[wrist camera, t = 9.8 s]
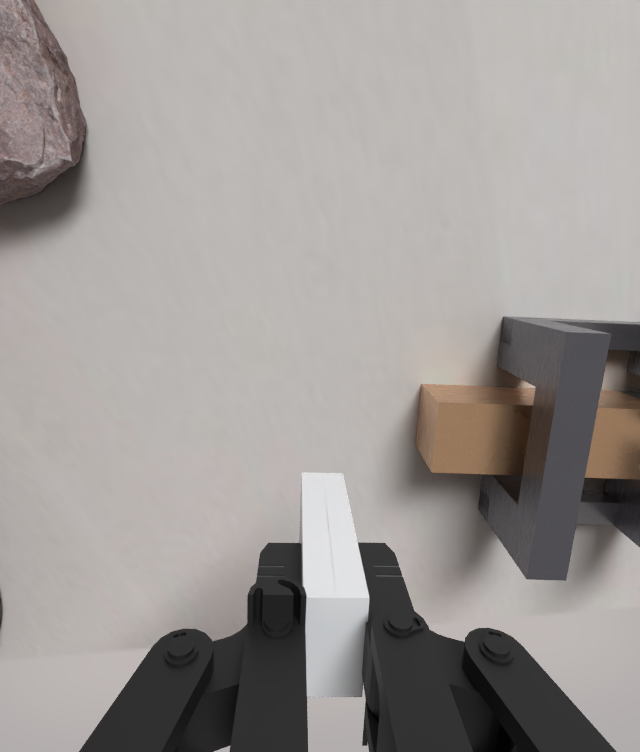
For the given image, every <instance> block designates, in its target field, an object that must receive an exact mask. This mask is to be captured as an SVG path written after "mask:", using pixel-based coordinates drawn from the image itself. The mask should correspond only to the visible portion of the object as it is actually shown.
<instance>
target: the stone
mask: <svg viewBox="0 0 640 752" xmlns="http://www.w3.org/2000/svg"><path fill="white" fill-rule="evenodd" d="M85 128H86V120H85V117H84V115H83V113H82V111H81V108H80V102H79V97H78V92H77V87H76V82H75V78H74V76H73V74H72V72H71V71H70V69H69V66H68V62H67V57H66V55H65V54H64V52H63V51H62V49H61V48H60V46H59V44H58V41H57V39H56V38H55V37H54V35H53V33H52V32H51V30H50V29H49V27H48V25H47V24H46V22H45V21H44V18H43V16H42V14H41V12H40V10H39V8H38V6H37V4H36V3H35V1H34V0H0V205H2V204H4V203H7V202H10V201H14V200H17V199H22V198H26V197H30V196H33V195H34V194H35V193H38V192H42V191H43V189H44V187H45V186H46V185H47V184H49V183H50V182H52V181H53V180H54V179H55V178H56V177H57V176H58V175H59V174H61V173H63V172H65V171H66V170H67V169H68V168H69V167H73V166H75V165H76V164H77V163H78V162H79V160H80V156H81V152H82V143H83V141H84V139H85Z"/></svg>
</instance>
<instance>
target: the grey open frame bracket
mask: <svg viewBox="0 0 640 752" xmlns="http://www.w3.org/2000/svg"><path fill="white" fill-rule="evenodd" d="M608 350H627V351H631V354H630V359H629V364H628V370H627V372H630V373H633V374H637V375H640V322H619V321H595V320H571V319H547V318H523V317H503V325H502V332H501V340H500V347H499V355H498V363H497V367H499V368H501V369H503V370H505V371H507V372H509V373H511V374H513V375H515V376H516V377H518V378H520V379H522V380H524V381H526V382H528V383H530V384H532V385H534V386H536V388H535V395H534V401H533V408H532V414H531V421H530V428H529V434H528V441H527V448H526V454H525V461H524V467H523V474H522V476H521V475H491V474H483V478H482V485H481V493H480V501H479V508H478V509H479V511H480V512H481V514H482V515H483V516H484V518H485V519H486V521H487V522H488V524H489V525H490V527H491V528H492V530H493V531H494V532H495V534H496V535H497V537H498V538H499V540H500V541H501V543H502V544H503V546H504V547H505V548H506V550H507V551H508V553H509V554H510V556H511V557H512V559H513V560H514V561H515V563H516V564H517V566H518V567H519V569H520V570H521V572H522V573H523V575H524V576H525V577H526V579H537V580H566V577H567V572H568V566H569V561H570V556H571V550H572V545H573V539H574V534H575V528H576V524H588V525H614V526H615V527H617V528H618V529H619V530H620V531H621V532H622V533H624V534H625V535H626V536H627V537H628V538H629V539H631V540H632V541H633V542H634V543H635V544H637V545H638V546H639V547H640V479H611V478H606V482H605V487H604V492H589V491H582V490H583V485H584V480H585V474H586V469H587V463H588V458H589V452H590V447H591V441H592V436H593V431H594V425H595V420H596V414H597V409H598V403H599V398H600V393H601V387H602V382H603V376H604V371H605V365H606V360H607V355H608Z"/></svg>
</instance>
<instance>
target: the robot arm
mask: <svg viewBox="0 0 640 752" xmlns="http://www.w3.org/2000/svg"><path fill="white" fill-rule="evenodd" d="M0 621H1V600H0ZM363 683H364V690H365V696H366V704H365V717H364V730H363V745H367V743H368V746H369V752H616V751H615V750H614V749H613V748H612V746H611V745H610V744H609V743H608V742H607V741H606V739H605V738H604V737H603V736H602V735H601V734H600V733H599V732H598V730H597V729H596V728H595V727H594V726H593V725H592V724H591V723H590V721H589V720H588V719H587V718H586V717H585V716H584V715H583V714H582V712H581V711H580V710H579V709H578V708H577V707H576V706H575V705H574V704H573V703H572V701H571V700H570V699H569V698H568V697H567V696H566V695H565V693H564V692H563V691H562V690H561V689H560V688H559V687H558V686H557V684H556V683H555V682H554V681H553V680H552V679H551V678H550V677H549V675H548V674H547V673H546V672H545V671H544V670H543V669H542V668H541V667H540V665H539V664H538V663H537V662H536V661H535V660H534V659H533V658H532V657H531V655H530V654H529V653H528V652H527V651H526V650H525V648H524V647H523V646H522V645H521V644H519V642H517V641H516V640H515V639H514V638H513V637H511V636H509V635H507V634H505V633H504V632H501V631H498V630H494V629H491V628H478V629H475V630H473V631H471V632H469V634H468V635H467V637H466V638H465V642H463V641H458V640H455V639H451V638H447V637H444V636H441V635H438V634H436V633H434V632H433V631H431V630H429V627H428V625H427V624H426V622H425V621H424V619H423V618H422V617H421V616H420V615H418V614H417V613H416V612H414V609H413V606H412V603H411V600H410V597H409V594H408V591H407V588H406V585H405V582H404V579H403V577H402V573H401V570H400V567H399V564H398V561H397V558H396V556H395V553H394V552H393V551H392V550H391V549H390V548H389V547H388V546H387V545H386V544H385V543H358V542H357V537H356V533H355V528H354V523H353V519H352V514H351V509H350V505H349V500H348V495H347V491H346V486H345V481H344V477H343V473H305V472H302V478H301V506H300V534H299V543H268V544H267V545H266V547H265V548H264V549H263V550H262V552H261V553H260V558H259V567H258V573H257V580H256V583H255V584H254V585H253V586H252V587H251V589H250V591H249V593H248V620H247V625H246V626H245V627H244V628H243V629H242V630H241V631H239V632H237V633H236V634H234V635H232V636H230V637H227V638H224V639H220V640H217V641H213V642H212V640H211V639H210V638H209V637H208V635H207V634H206V633H204V632H201V631H199V630H196V629H181V630H177V631H173V632H171V633H169V634H167V635H165V636H164V637H162V638H160V640H159V641H158V642H157V643H156V644H155V645H154V646H153V647H152V648H151V650H150V651H149V652H148V654H147V655H146V657H145V658H144V660H143V661H142V663H141V664H140V665H139V667H138V668H137V670H136V671H135V673H134V674H133V676H132V677H131V678H130V680H129V681H128V683H127V684H126V685H125V687H124V688H123V690H122V691H121V693H120V694H119V695H118V697H117V698H116V700H115V701H114V703H113V704H112V705H111V707H110V708H109V710H108V711H107V713H106V714H105V715H104V717H103V718H102V720H101V721H100V723H99V724H98V725H97V727H96V728H95V730H94V731H93V733H92V734H91V736H90V737H89V738H88V740H87V741H86V743H85V744H84V746H83V747H82V748H81V750H80V751H79V752H213V751H216V750H219V749H221V748H224V747H227V746H230V745H231V747H230V752H308V728H307V697H362V689H363Z"/></svg>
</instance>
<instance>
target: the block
mask: <svg viewBox="0 0 640 752" xmlns="http://www.w3.org/2000/svg"><path fill="white" fill-rule="evenodd" d="M534 395H535V388H515V387H489V386H462V385H435V384H421V395H420V406H419V417H418V427H417V438H416V447H417V448H418V450H419V452H420V454H421V455H422V457H423V459H424V460H425V462H426V464H427V466H428V467H429V469H430V471H431V473H461V474H491V475H521V476H522V474H523V467H524V461H525V454H526V448H527V441H528V434H529V428H530V421H531V414H532V408H533V401H534ZM585 478H611V479H640V392H623V391H601V393H600V398H599V403H598V409H597V414H596V420H595V425H594V431H593V436H592V441H591V447H590V452H589V458H588V463H587V469H586V474H585Z"/></svg>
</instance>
